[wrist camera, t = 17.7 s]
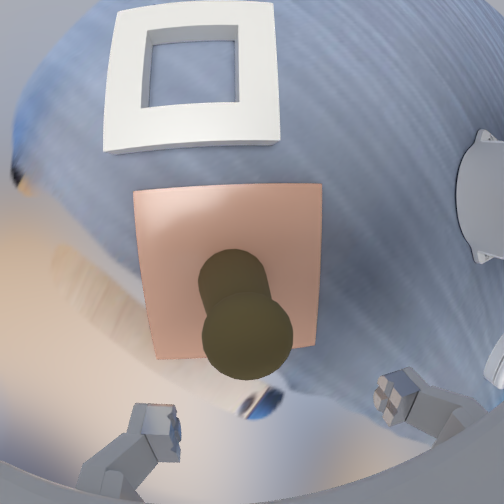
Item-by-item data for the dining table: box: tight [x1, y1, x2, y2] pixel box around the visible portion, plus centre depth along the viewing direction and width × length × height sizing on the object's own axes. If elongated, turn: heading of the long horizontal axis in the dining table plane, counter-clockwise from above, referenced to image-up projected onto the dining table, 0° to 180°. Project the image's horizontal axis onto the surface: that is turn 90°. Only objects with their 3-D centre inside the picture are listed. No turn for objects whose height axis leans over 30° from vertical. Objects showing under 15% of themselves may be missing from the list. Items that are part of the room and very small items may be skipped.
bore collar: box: [103, 0, 280, 155], centre depth 19 cm, size 13×13×3 cm
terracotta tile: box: [133, 183, 322, 359], centre depth 25 cm, size 16×16×1 cm
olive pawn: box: [198, 249, 293, 380], centre depth 19 cm, size 6×6×11 cm
